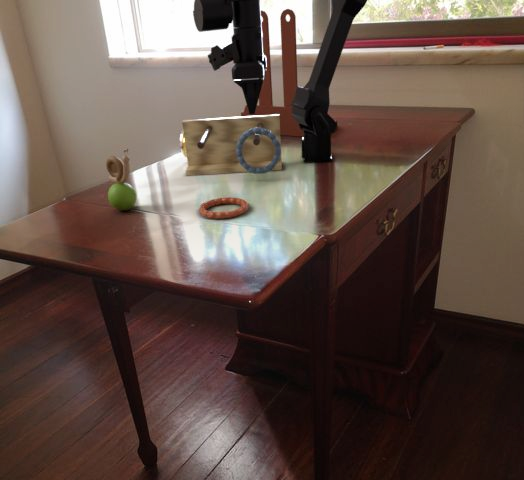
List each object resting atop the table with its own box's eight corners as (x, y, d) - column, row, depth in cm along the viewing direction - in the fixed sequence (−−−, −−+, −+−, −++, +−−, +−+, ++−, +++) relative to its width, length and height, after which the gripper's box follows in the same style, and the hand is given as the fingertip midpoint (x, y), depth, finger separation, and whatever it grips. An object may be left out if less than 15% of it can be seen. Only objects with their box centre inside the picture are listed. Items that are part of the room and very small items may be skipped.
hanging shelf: (337, 126, 159) (338, 4, 142) (316, 137, 150) (314, 7, 134) (266, 122, 171) (259, 8, 154) (242, 132, 162) (232, 12, 145)
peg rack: (281, 162, 131) (279, 113, 125) (280, 184, 117) (278, 130, 111) (190, 168, 133) (183, 119, 127) (178, 190, 119) (170, 136, 113)
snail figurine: (129, 216, 107) (116, 152, 100) (105, 212, 110) (91, 150, 103) (148, 207, 110) (136, 145, 104) (124, 203, 114) (112, 143, 107)
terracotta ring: (249, 195, 109) (246, 212, 101) (250, 201, 109) (246, 218, 102) (202, 197, 110) (195, 214, 102) (203, 203, 110) (196, 220, 102)
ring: (188, 163, 136) (183, 129, 132) (178, 162, 138) (173, 128, 134) (207, 156, 141) (203, 123, 136) (197, 155, 143) (193, 122, 138)
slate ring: (281, 171, 120) (279, 125, 115) (281, 173, 119) (279, 127, 114) (238, 173, 121) (234, 128, 116) (238, 175, 120) (234, 129, 115)
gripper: (213, 26, 120) (221, 104, 129) (201, 33, 105) (211, 121, 113) (264, 23, 119) (268, 101, 128) (260, 29, 104) (265, 117, 112)
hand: (253, 109), depth 120 cm, fingers open, 9 cm apart
